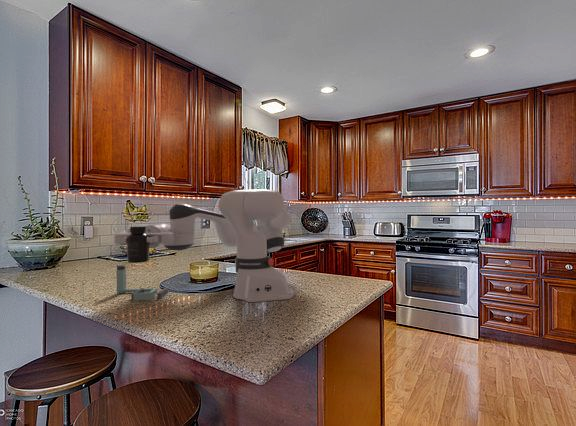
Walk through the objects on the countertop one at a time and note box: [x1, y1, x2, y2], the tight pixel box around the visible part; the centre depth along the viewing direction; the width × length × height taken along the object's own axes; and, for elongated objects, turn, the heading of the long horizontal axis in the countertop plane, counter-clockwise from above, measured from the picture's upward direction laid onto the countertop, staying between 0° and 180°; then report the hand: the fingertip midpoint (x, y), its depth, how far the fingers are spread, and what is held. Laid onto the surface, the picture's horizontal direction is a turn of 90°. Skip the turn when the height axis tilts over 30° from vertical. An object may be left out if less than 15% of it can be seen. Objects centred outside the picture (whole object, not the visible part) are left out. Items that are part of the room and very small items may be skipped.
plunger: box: [115, 264, 159, 301], centre depth 120 cm, size 18×13×10 cm
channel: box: [130, 287, 169, 300], centre depth 120 cm, size 10×8×2 cm
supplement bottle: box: [126, 225, 150, 264], centre depth 110 cm, size 7×7×12 cm
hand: (136, 240), depth 109 cm, fingers closed on supplement bottle, 7 cm apart
